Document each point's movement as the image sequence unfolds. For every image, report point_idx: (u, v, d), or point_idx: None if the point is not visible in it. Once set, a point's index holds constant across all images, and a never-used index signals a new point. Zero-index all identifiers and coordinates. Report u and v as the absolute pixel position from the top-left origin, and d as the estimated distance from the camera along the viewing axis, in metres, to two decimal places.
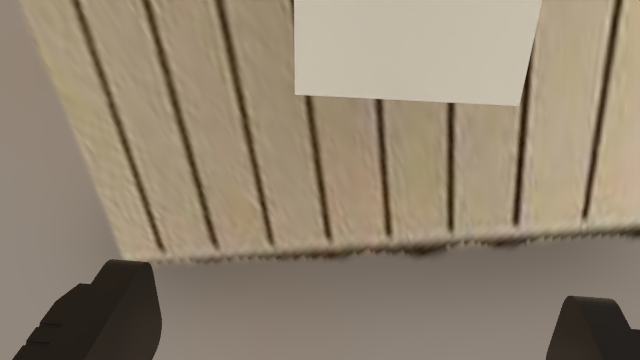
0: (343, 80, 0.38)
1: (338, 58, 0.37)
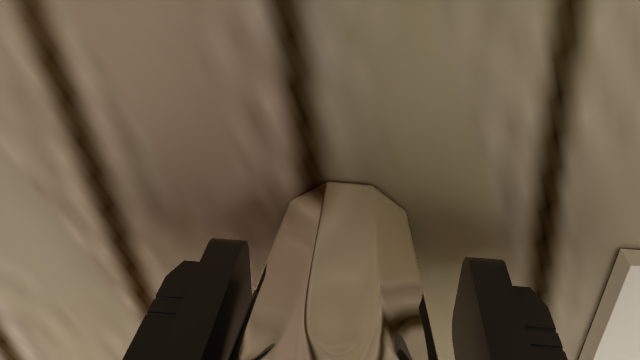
0: None
1: None
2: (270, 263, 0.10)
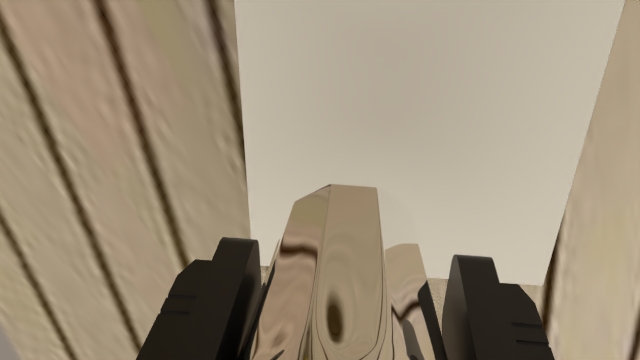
0: None
1: None
2: (277, 265, 0.10)
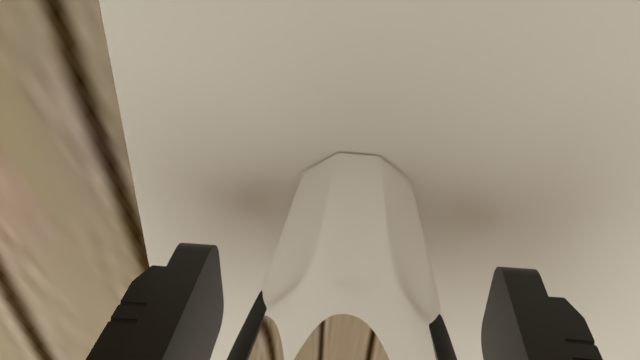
0: None
1: None
2: (288, 223, 0.11)
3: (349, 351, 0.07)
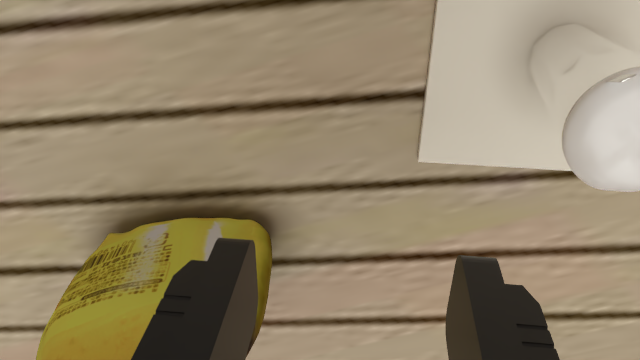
0: None
1: None
2: None
3: (558, 110, 0.19)
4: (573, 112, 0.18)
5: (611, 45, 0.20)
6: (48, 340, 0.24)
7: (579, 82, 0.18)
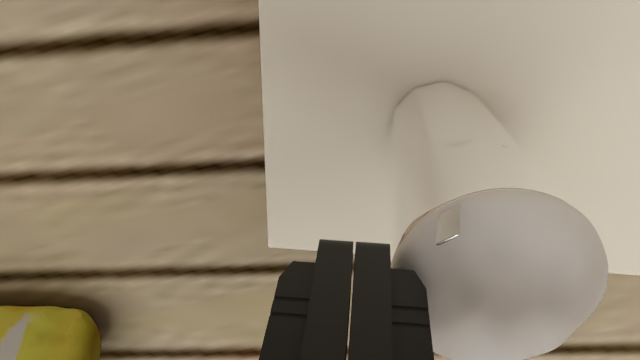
0: None
1: None
2: None
3: (390, 237, 0.13)
4: (398, 255, 0.11)
5: (472, 131, 0.14)
6: None
7: (413, 201, 0.12)
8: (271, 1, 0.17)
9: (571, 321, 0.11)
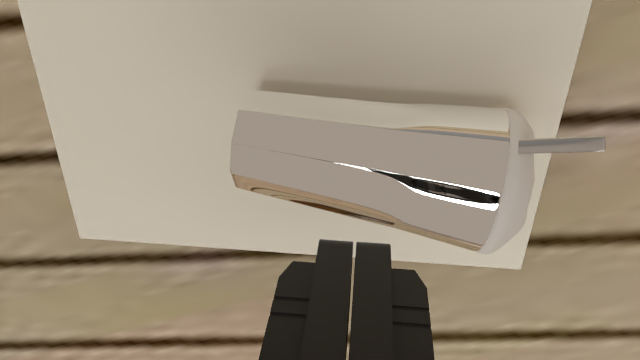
0: None
1: None
2: (310, 205, 0.17)
3: (453, 207, 0.15)
4: (507, 201, 0.15)
5: (394, 106, 0.16)
6: None
7: (469, 166, 0.15)
8: None
9: None
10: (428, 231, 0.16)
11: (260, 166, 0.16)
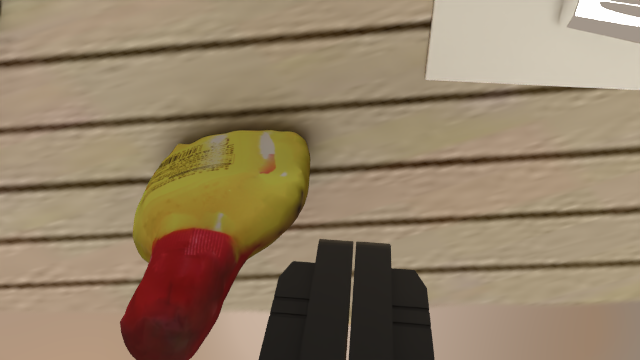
0: None
1: None
2: (611, 35, 0.31)
3: None
4: None
5: None
6: (148, 204, 0.32)
7: None
8: None
9: None
10: None
11: (594, 10, 0.30)
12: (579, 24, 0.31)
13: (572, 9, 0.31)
